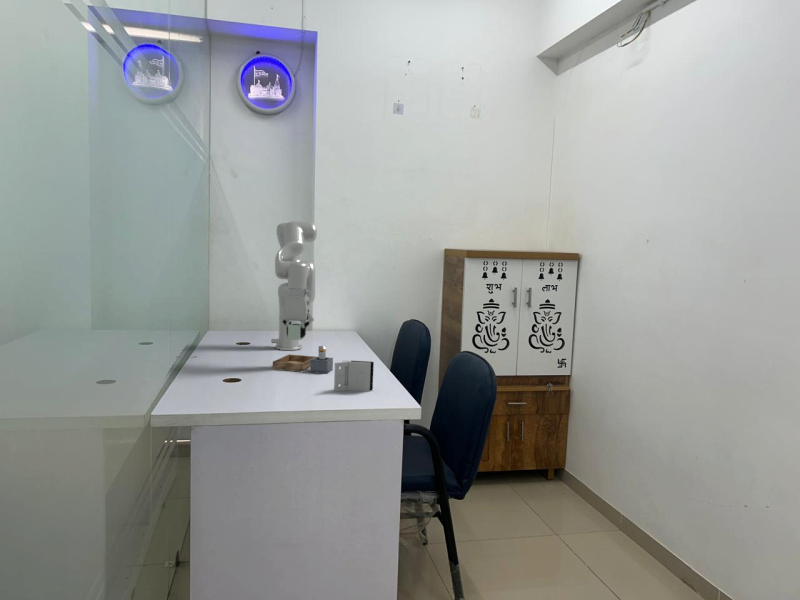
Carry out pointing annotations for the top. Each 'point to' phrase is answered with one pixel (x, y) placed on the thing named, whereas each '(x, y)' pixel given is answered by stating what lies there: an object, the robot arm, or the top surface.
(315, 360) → the block
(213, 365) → the top surface
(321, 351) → the cylinder
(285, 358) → the tray
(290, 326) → the pale green block
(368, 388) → the hinge
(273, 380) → the top surface
